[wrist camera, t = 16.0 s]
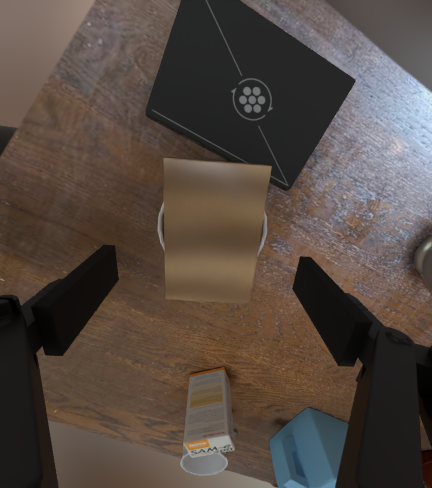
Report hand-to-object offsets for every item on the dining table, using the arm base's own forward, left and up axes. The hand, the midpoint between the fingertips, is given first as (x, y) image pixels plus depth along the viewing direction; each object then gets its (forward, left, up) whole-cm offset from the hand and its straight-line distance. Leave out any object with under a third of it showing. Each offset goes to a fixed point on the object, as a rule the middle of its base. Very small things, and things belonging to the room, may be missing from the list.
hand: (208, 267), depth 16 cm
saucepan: (+58, +4, -21) cm, 62 cm away
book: (-14, +4, -21) cm, 26 cm away
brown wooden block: (0, 0, -8) cm, 8 cm away
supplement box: (+39, +2, -21) cm, 44 cm away
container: (+59, +30, -21) cm, 70 cm away
